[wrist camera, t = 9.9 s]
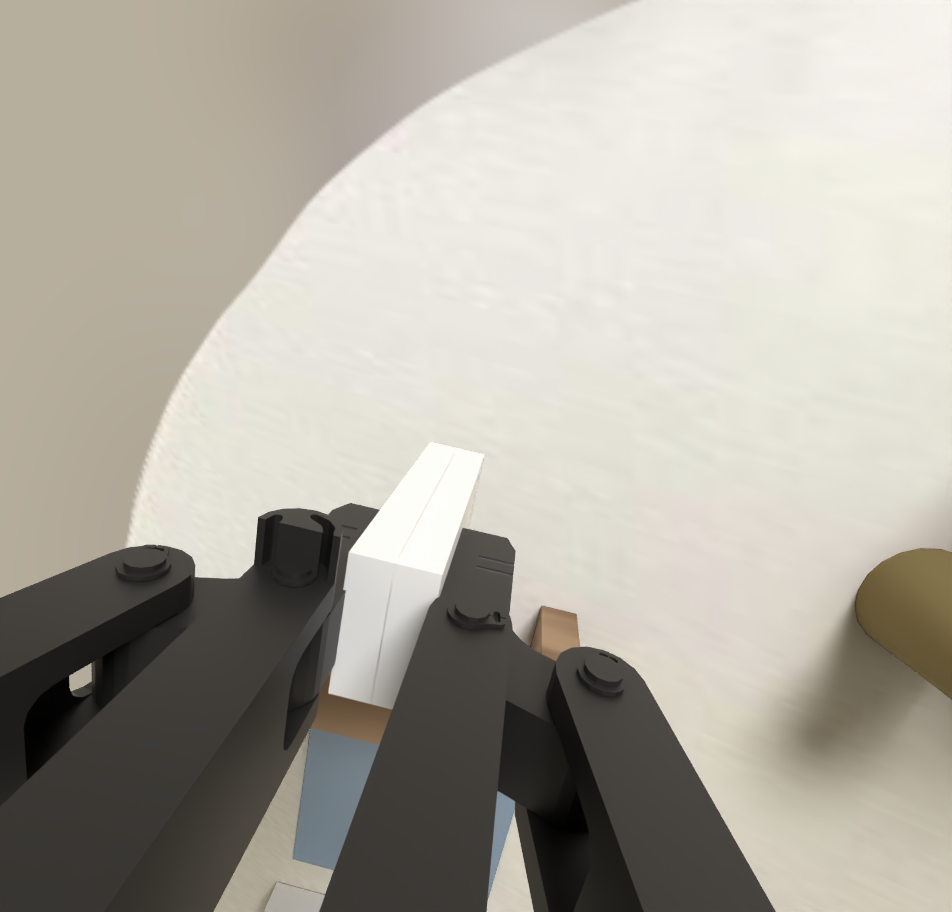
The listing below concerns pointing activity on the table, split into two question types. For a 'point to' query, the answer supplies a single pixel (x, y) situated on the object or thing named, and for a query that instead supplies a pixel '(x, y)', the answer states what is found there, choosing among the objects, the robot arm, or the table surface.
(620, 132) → the table surface
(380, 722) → the bridge
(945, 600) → the cork
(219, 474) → the table surface
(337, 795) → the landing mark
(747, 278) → the table surface
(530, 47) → the table surface
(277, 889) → the wall
